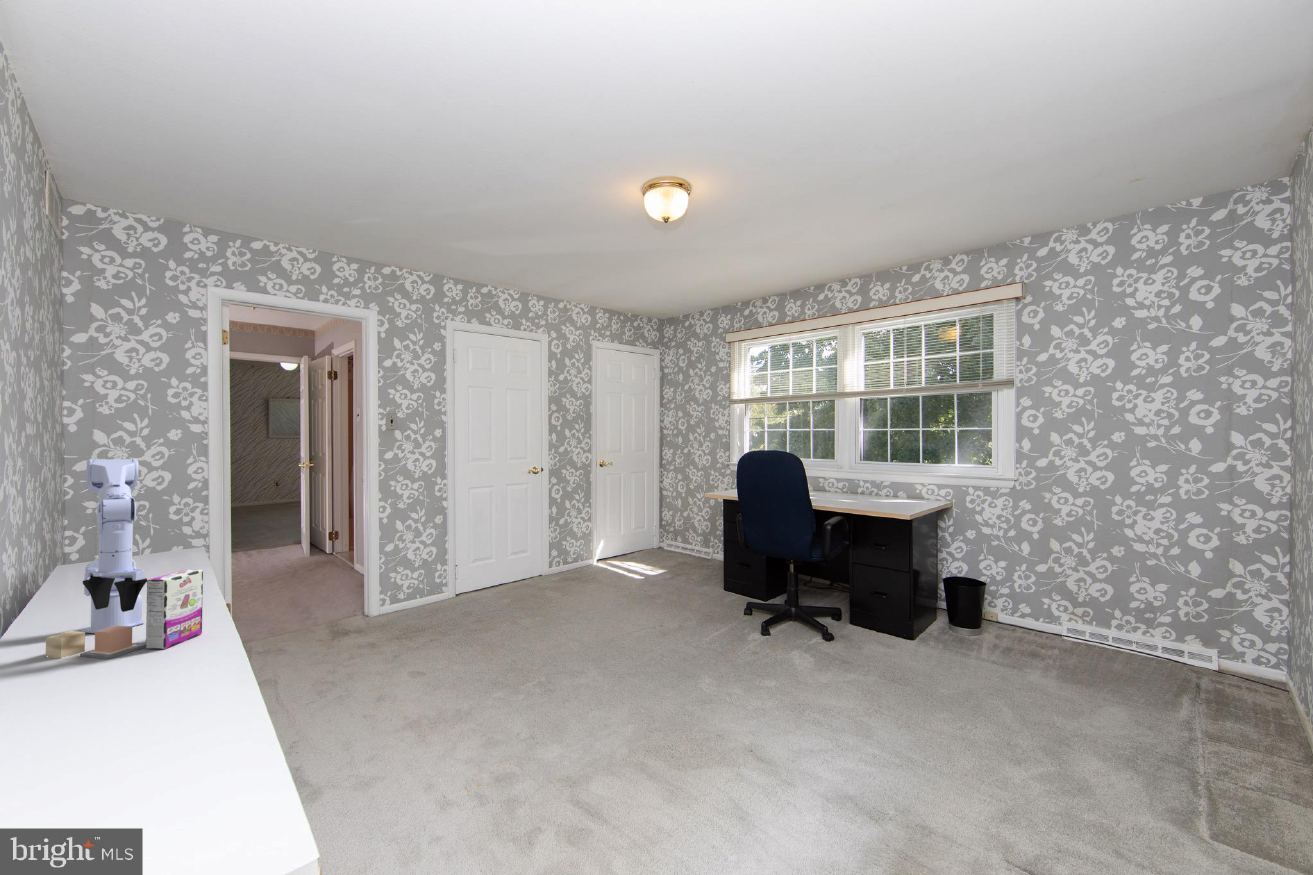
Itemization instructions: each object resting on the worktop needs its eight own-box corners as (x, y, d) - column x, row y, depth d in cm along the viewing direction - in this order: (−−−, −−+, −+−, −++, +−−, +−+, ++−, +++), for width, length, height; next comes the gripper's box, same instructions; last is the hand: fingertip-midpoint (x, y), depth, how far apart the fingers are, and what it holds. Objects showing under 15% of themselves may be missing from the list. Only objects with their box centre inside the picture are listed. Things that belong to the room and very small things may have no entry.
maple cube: (69, 650, 133) (69, 630, 133) (84, 651, 132) (85, 632, 133) (45, 657, 129) (45, 637, 129) (61, 658, 128) (61, 638, 128)
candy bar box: (183, 633, 145) (185, 568, 145) (202, 634, 145) (205, 569, 145) (143, 649, 134) (145, 578, 134) (164, 650, 134) (167, 579, 134)
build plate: (119, 644, 137) (119, 641, 137) (146, 646, 136) (146, 643, 136) (79, 656, 129) (80, 653, 129) (107, 659, 128) (108, 655, 128)
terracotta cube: (116, 644, 135) (117, 625, 135) (132, 645, 134) (132, 626, 134) (94, 651, 131) (95, 631, 131) (110, 652, 130) (110, 632, 130)
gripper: (70, 552, 130) (69, 612, 130) (121, 555, 127) (120, 616, 127) (106, 547, 137) (104, 603, 137) (154, 549, 134) (153, 607, 134)
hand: (114, 609), depth 133 cm, fingers open, 7 cm apart
